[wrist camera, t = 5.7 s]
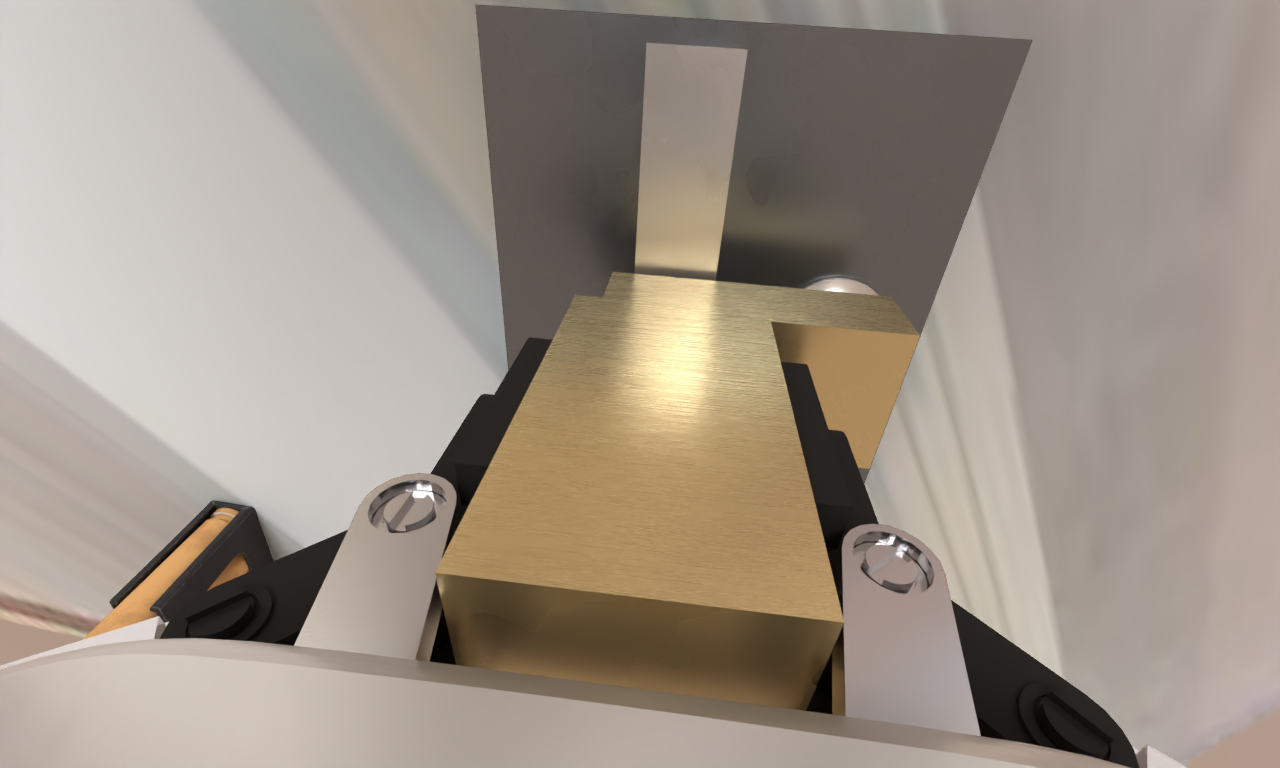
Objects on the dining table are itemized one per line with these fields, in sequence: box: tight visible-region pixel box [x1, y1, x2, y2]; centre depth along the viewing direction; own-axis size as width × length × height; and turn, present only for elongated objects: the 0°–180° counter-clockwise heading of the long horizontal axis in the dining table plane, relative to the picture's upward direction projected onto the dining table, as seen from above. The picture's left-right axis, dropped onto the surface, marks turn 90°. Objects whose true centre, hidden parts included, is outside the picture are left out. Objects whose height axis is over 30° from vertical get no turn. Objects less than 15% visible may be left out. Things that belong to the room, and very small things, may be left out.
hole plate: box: [476, 5, 1032, 483], centre depth 13 cm, size 21×12×12 cm, turn 177°
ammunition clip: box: [83, 501, 274, 640], centre depth 22 cm, size 11×2×12 cm, turn 172°
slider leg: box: [435, 272, 920, 711], centre depth 10 cm, size 4×7×10 cm, turn 87°
